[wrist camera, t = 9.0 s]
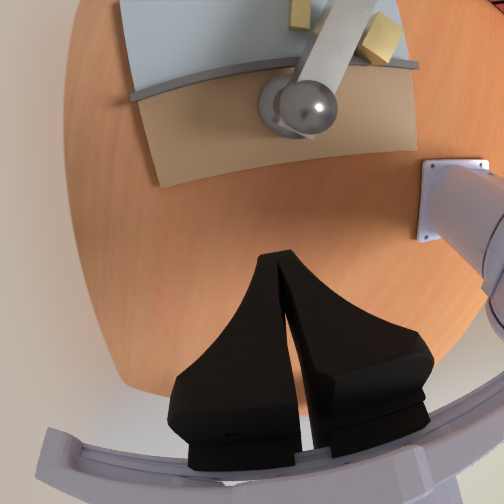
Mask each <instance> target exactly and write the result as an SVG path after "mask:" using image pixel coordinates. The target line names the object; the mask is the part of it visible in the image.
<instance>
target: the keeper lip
mask: <svg viewBox="0 0 504 504" xmlns="http://www.w3.org/2000/svg"><path fill="white" fill-rule="evenodd" d="M310 13H311V0H290V1H289V16H288V30H289V31H296V32H302V33H306V32H307V31H308V30H309V29H310Z"/></svg>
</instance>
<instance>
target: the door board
mask: <svg viewBox="0 0 504 504" xmlns="http://www.w3.org/2000/svg"><path fill="white" fill-rule="evenodd" d="M119 1H120V9H121V16H122V23H123V29H124V36H125V41H126V47H127V53H128V58H129V63H130V68H131V73H132V78H133V83H134V87H135V92H133V93H131V94H130V98H131V102H138V105H139V109H140V113H141V118H142V122H143V126H144V129H145V133H146V137H147V141H148V145H149V148H150V152H151V156H152V159H153V163H154V166H155V170H156V173H157V177H158V180H159V183H160V187H161V188H165V187H169V186H173V185H177V184H181V183H185V182H190V181H194V180H198V179H203V178H207V177H212V176H217V175H221V174H226V173H231V172H236V171H242V170H247V169H252V168H258V167H264V166H270V165H276V164H282V163H289V162H296V161H303V160H310V159H318V158H326V157H335V156H344V155H355V154H366V153H379V152H395V151H417V131H416V113H415V100H414V90H413V82H412V74H411V70H413V69H419V63H418V62H417V61H410V60H409V55H408V50H407V45H406V40H405V35H404V32H403V34H402V37H401V39H400V41H399V43H398V45H397V47H396V49H395V51H394V53H393V55H392V57H391V59H390V61H389V63H387V64H381V65H375V66H369V67H366V66H367V65H372V64H371V63H369V62H368V61H367V60H365V59H364V58H362V57H361V56H352V58H351V60H350V62H349V64H348V66H347V69H346V71H345V73H344V75H343V77H342V79H341V82H340V84H339V86H338V88H337V90H336V92H335V95H334V96H335V98H336V100H337V105H338V113H337V117H336V120H335V121H334V123H333V124H332V126H331V127H330V128H328V129H327V130H326V131H324V132H322V133H319V134H316V136H315V138H314V140H311V139H309V138H304V139H296V140H295V139H287V138H284V137H281V136H279V135H277V134H275V133H274V132H272V131H271V130H270V129H269V128H268V127H267V126H266V125H265V124H264V123H263V121H262V120H261V118H260V116H259V112H258V107H257V102H258V97H259V94H260V92H261V90H262V88H263V87H264V86H265V85H266V84H267V83H268V82H269V81H270V80H272V79H273V78H275V77H277V76H279V75H282V74H285V73H293V71H294V69H295V67H296V65H297V63H298V60H299V58H300V56H301V54H302V52H303V50H304V48H305V46H306V44H307V42H308V40H309V37H310V35H311V33H312V31H313V29H314V27H315V25H316V23H317V21H318V19H319V17H320V15H321V13H322V11H323V9H324V7H325V5H326V3H327V1H328V0H311V13H310V29H309V30H308V31H307V32H306V33H302V32H296V31H289V30H288V16H289V1H290V0H119ZM379 11H380V12H382V13H383V14H384V15H386V16H387V17H389V18H390V19H391V20H393V21H394V22H395V23H397V24H398V25H399V26H401V27H402V28H403V26H402V22H401V18H400V14H399V11H398V7H397V4H396V0H377V2H376V4H375V7H374V9H373V11H372V13H371V15H373V14H375V13H377V12H379Z"/></svg>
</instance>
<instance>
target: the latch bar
mask: <svg viewBox="0 0 504 504" xmlns="http://www.w3.org/2000/svg"><path fill="white" fill-rule="evenodd" d="M376 2H377V0H328V1H327V3H326V5H325V7H324V9H323V11H322V13H321V15H320V17H319V19H318V21H317V23H316V25H315V27H314V29H313V31H312V33H311V35H310V37H309V40H308V42H307V44H306V46H305V48H304V50H303V52H302V54H301V56H300V58H299V60H298V63H297V65H296V67H295V69H294V71H293V73H292V76H291V78H290V80H289V82H288V84H287V86H285V87H283V88H281V89H280V90H279V91H278V92H277V93H276V95H275V97H274V99H273V111H274V115H273V118H272V120H271V121H272V122H274V123H276V124H277V125H280V126H282V127H284V128H287V129H289V130H291V131H294V132H296V133H298V134H300V135H303V136H305V137H307V138H309V139H311V140H314V138H315V136H316V134H319V133H322V132H324V131H326V130H327V129H328V128H330V127H331V126H332V124H333V123H334V121H335V120H336V117H337V113H338V105H337V100H336V98H335V96H334V95H335V92H336V90H337V88H338V86H339V84H340V82H341V79H342V77H343V75H344V73H345V71H346V69H347V66H348V64H349V62H350V60H351V58H352V55H353V53H354V51H355V49H356V47H357V44H358V42H359V40H360V38H361V36H362V33H363V31H364V29H365V27H366V24H367V22H368V20H369V18H370V16H371V13H372V11H373V9H374V7H375V4H376Z"/></svg>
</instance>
